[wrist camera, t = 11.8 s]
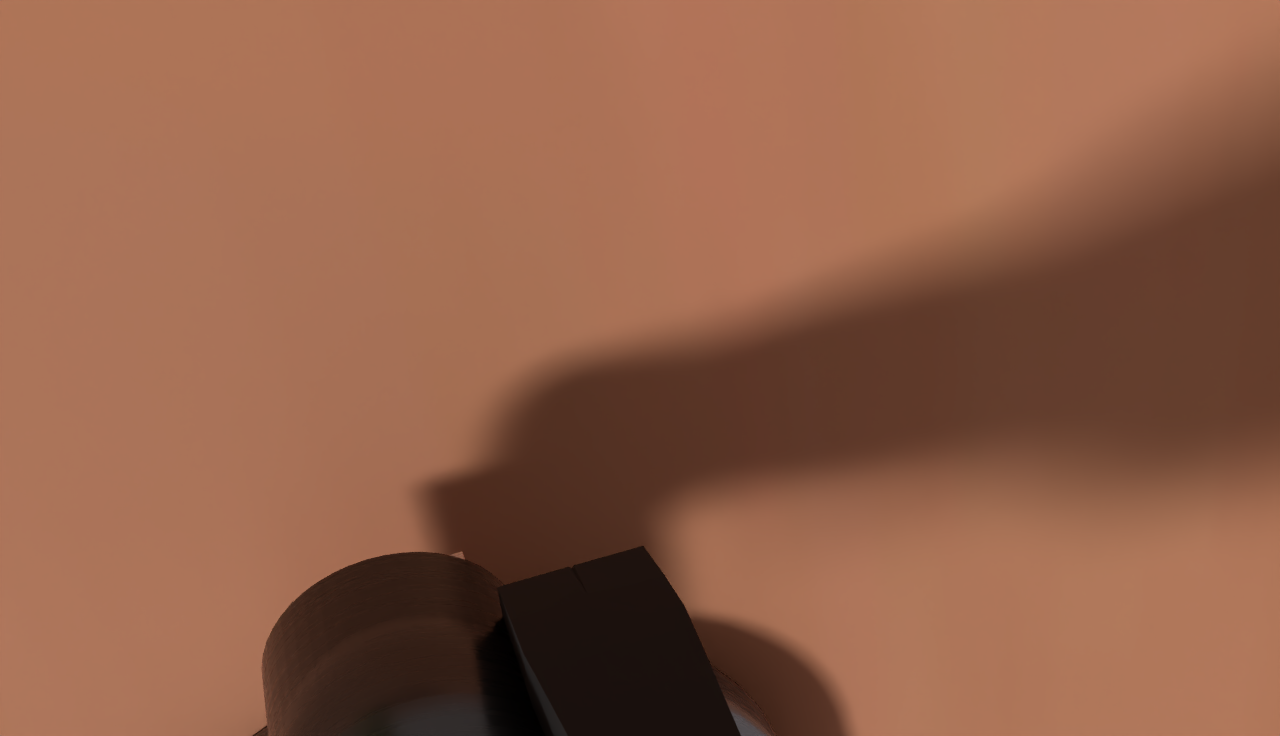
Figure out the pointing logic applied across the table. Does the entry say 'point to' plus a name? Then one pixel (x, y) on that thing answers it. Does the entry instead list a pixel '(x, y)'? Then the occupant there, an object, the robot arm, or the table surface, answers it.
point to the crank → (397, 654)
